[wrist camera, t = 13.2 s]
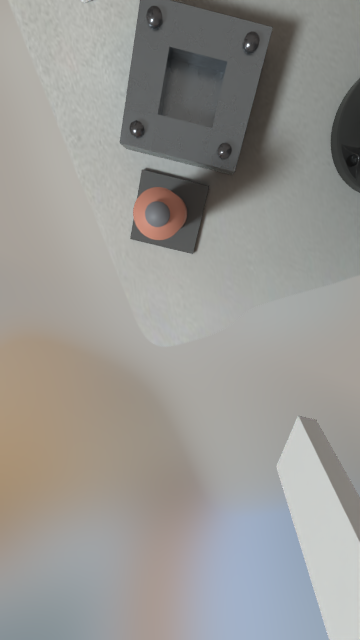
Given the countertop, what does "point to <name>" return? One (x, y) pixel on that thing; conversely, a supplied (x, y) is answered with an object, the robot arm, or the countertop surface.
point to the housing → (192, 84)
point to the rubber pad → (193, 200)
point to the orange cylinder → (159, 213)
